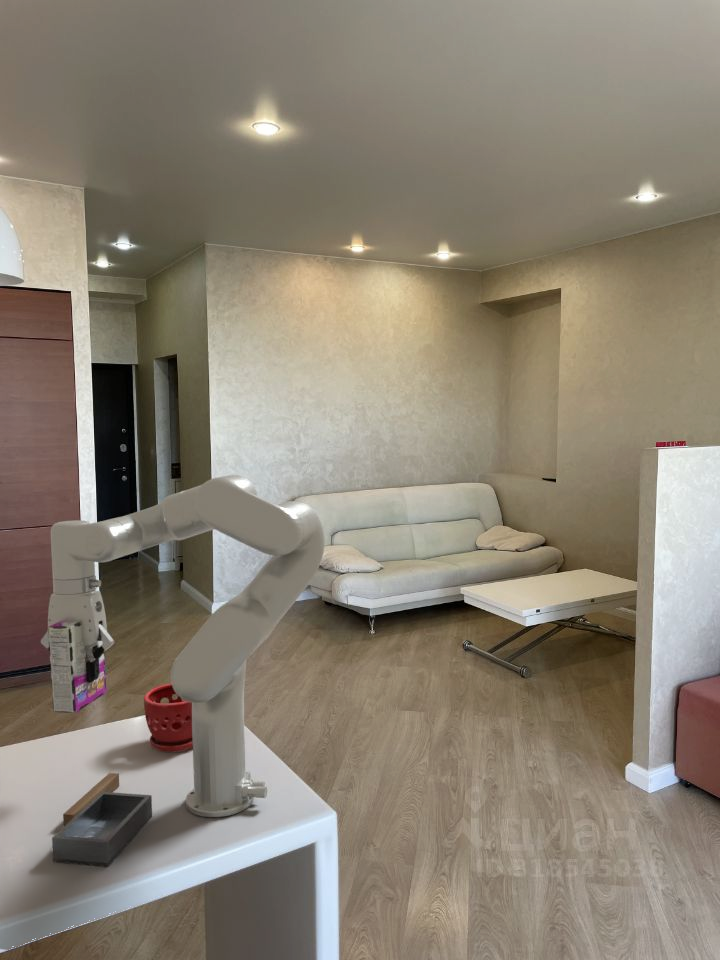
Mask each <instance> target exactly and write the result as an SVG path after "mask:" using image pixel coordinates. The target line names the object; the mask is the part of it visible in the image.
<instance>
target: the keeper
mask: <svg viewBox="0 0 720 960" xmlns="http://www.w3.org/2000/svg"><path fill="white" fill-rule="evenodd" d="M152 797H153V796H152V794H151V795H150V794H137V793H127V792H126V793H125V792H124V793H123V792H115V791H113V792H101V793H100V794H99V795H98V796H97V797H96V798H95V799H94V800H93V801H91V802H90V803H89V804H88V805H87V806H86V807H85V808H84V809H83V810H82V811H81V812H80V813H78V814H77V815H76V816H75V817H74V818H73V819H72V820H71V821H70V822H69V823H68V824H67V825H65V826H64V825H63V827H62V828H61V829H60V830H59V831H58V832H57V833H56V834H55V835H54V836H52V837H51V841H52V842H51V843H52V860H53V861H52V862H54V863H59V864H60V863H63V864H71V863H72V864H73V865H82V864H84V866H95V867H104V868H105V867H106V868H107V867H108V866H109V867H110V865H112V863H113V862H114V861H115V860H116V859H117V857H118V856H119V855H120V854H121V853H122V852H123V851H124V849H125V848H126V847H127V846H128V845H129V844H130V843H131V842H132V841H133V839H134V838H135V837H136V836H137V835H138V834H139V832H140V831H141V830H142V829H143V828H144V827H145V826H146V825H147V823H148V822H149V821H150V820H151V819H152V818H153V801H152V799H153V798H152Z"/></svg>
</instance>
